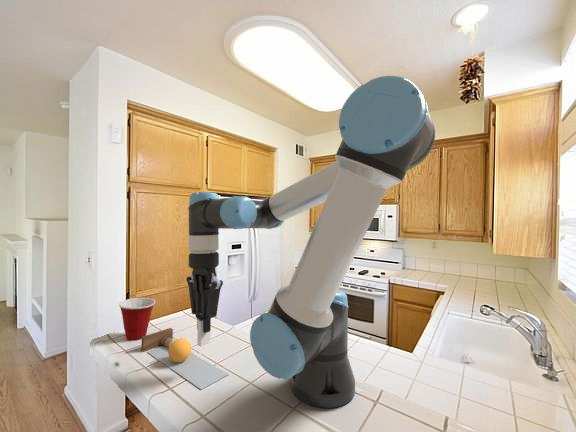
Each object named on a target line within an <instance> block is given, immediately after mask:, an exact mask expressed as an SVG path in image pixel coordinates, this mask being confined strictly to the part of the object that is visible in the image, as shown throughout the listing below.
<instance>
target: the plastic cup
mask: <svg viewBox="0 0 576 432" xmlns="http://www.w3.org/2000/svg"><path fill="white" fill-rule="evenodd" d="M155 304H156V300H155V299H152V298H149V297H133V298H127V299H124V300H123V301H120V302H119V304H118V306H119V308H120V311H121V317H122V321H123V322H122V323H123V329H124V334H125V335H124V336H125V338H126V341H130V342H134V341H139V340H142V337H143V336H146V335H147V332H148V327H149V323H150V320H151V315H152V310H153V308H154V306H155Z"/></svg>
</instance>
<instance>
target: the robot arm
mask: <svg viewBox="0 0 576 432" xmlns="http://www.w3.org/2000/svg"><path fill="white" fill-rule="evenodd" d="M338 128H339V133H340V136H341V142H340V144H339V147H338V148H337V151H336V154H335V157H334V158H335V161H334V162H332V163H330V164H328V165H326V166H324V167H323V168H321V169H319V170H318V171H315V172H313V173H312V174H309V175H308V176H306V177H304V178H302V179H300V180H298V181H297V182H295V183H293V184H291V185H289V186H287V187H286V188H284V189H282V190H280V191H279V192H278V191H277V192H276V193H274V194H273V195H270V196H269V197H267V198H265V199H263V200H254V199H251V198H250V197H249V196H243V195H242V196H237V195H234V196H231V197H224V198H220V197H219V195H218V193H217V192H210V191H196V192H195V191H194V192H192V193H191V194H190V195H189V198H188V199H189V200H188V201H189V202H188V207H187V209H188V251H189V252H190V253H189V254H188V267H189V268H190V269H192V272H191V275H190V276H187V277H186V282H187V286H188V293H189V303H190V309H191V314H192V315H195V319H196V323H197V324H196V329H197V333H196V334H197V343H196V344H197V346H198V347H201V348H202V347H203V346H206V345H209V344H210V343H211V328H212V327H211V325H212V322H211V321H212V318H215V317H217V315H218V314H217V313H218V308H219V301H220V297H221V296H220V295H221V289H222V287H223V285H224V282H223V280H222V279H221V280H219V279H218V277H217V271H216V268H217V267H218V266H219V265H220V257H219V256H220V253H219V252H218V250H220V249H219V248H220V247H219V243H220V242H219V240H220V239H219V236H220V235H219V234H220V232H219V231H220V229H221V230H222V229H227V230H228V229H229V230H230V229H231V230H232V229H233V230H237V229H238V230H242V229H266V230H267V229H268V230H272V229H276V228H279V227H281V226H282V225H283V224H284V222H285V221H286V220H289V219H291V218H292V217H296V216H298V215H299V214H301V213H304V212H306V211H308V210H311V209H313V208H315V207H317V206H319V205H321V204H323V206H322V208H321V211H320V213H319V216H318V217H317V220H316V221H315V224H314V227H313V229H312V231H311V233H310V236H309V238H308V241H307V243H306V245H305V246H304V249H303V252H302V255H301V256H300V258H299V261H298V263H297V266H296V267H295V270H294V272H293V274H292V277H291V280H290V282H289V283H288V285H284V286H283V287H280V288H279V289H278V290H277V291H276V294H275V297H274V299H273V301H272V303H271V305H270V308H269V310H268V311H267V312H264V313H261V314H260V315H258V316H257V317H255V319H254V320H253V322H252V325H251V327H250V332H249V333H250V334H249V340H250V345H251V348H252V351H253V355H254V357H255V359H256V361H257V363H258V364H259V365H260V366H261V368H262V369H263V371H266V373H267V374H269V375H270V376H272V377H274V378H277V379H279V380H280V379H284V380H287V379H290V390H291V392H292V393H293V395H294V396H295V397H296V398H297V399H298V400H300V401H301V402H303V403H304V404H307V405H310V406H313V407H316V408H324V409H325V408H327V409H328V408H329V409H330V408H331V409H332V408H338V407H341V406H342V407H343V406H344V405H346V404H348V403H349V402H351V401H352V400H353V398H354V397H355V394H356V380H355V375H354V372H353V368H352V365H351V362H350V359H349V356H348V348H349V347H348V345H349V344H348V340H349V339H348V338H349V337H348V335H349V333H348V328H349V323H348V322H349V321H348V320H349V319H348V318H349V314H348V313H349V305H348V296H347V294H346V293H345V292H344V291H342V290H340V286H341V285H342V283H343V282H344V281H343V280H344V279H345V277H346V275H347V272H348V271H349V269H350V267H351V265H352V262H353V260H354V258H355V256H356V254H357V252H358V250H359V248H360V246H361V243H362V241H363V239H364V238H365V235H366V233H367V231H369V230H368V229H369V228H370V225H371V223H372V222H373V219H374V217H375V216H376V213H377V211H378V208H379V207H380V205H381V203H382V201H383V198H384V197H385V195H386V192H387V191H388V190H389V189H390V188H392V187H394V186H398V185H400V184H402V182H403V181H404V178H405V176H406V174H407V171H410V170H412V169H413V168H415V167H417V166H418V165H420V164H421V163H422V162H423V161H424V160H425V159H426V158H427V157H428V155H430V154H431V151H432V150H433V146H435V141H436V127H435V125H434V122H433V120H432V118H431V115H430V112H429V108H428V103H427V100H426V98H425V95H424V94H423V93H422V92H421V91H420V89H419V88H418V87H417V86H416V84H414V82H412V81H411V80H410V79H408V78H404V77H403V76H397V75H383V76H378V77H375V78H373V79H371V80H369V81H367V82H366V83H364V84H361V85H360V86H358V87H357V88H356V89H355V90H353V92H351V94H350V95H349V96H348V97H347V99H346V100H345V101H344V103H343V105H342V107H341V110H340V113H339V118H338Z"/></svg>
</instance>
